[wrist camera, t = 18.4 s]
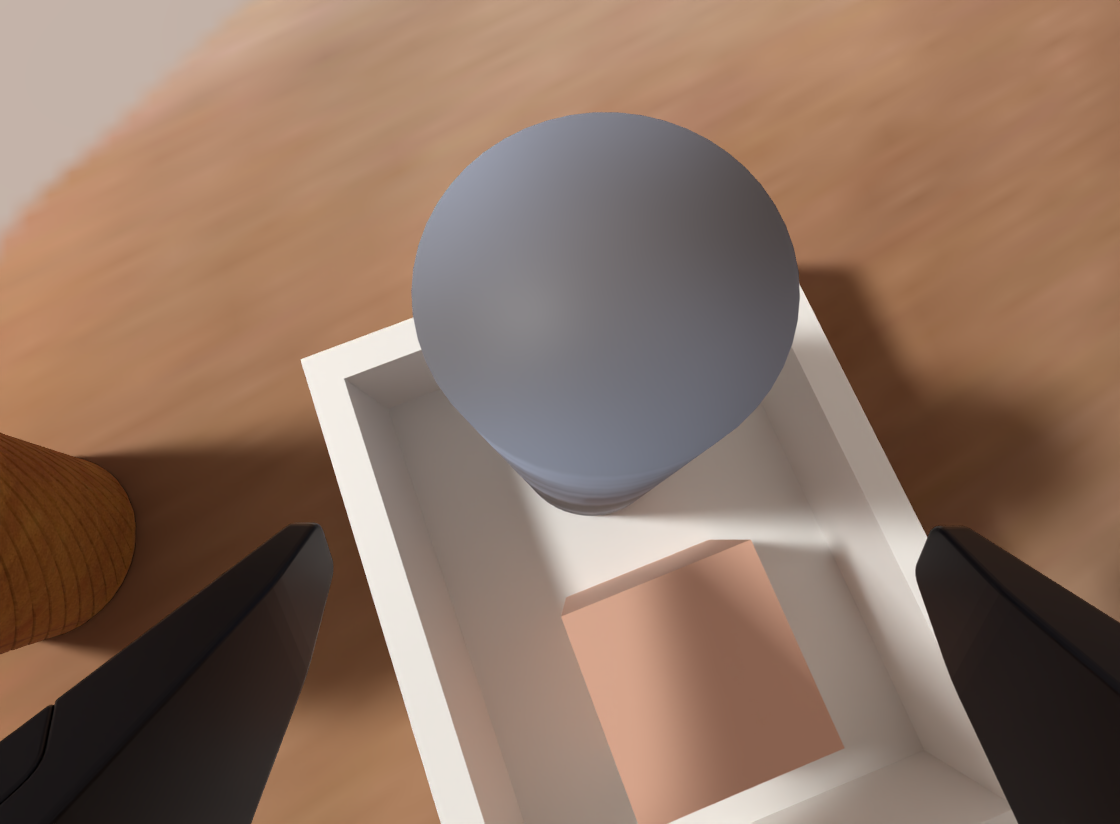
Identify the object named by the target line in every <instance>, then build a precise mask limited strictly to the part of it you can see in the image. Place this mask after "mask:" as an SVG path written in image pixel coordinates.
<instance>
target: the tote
mask: <svg viewBox="0 0 1120 824" xmlns="http://www.w3.org/2000/svg"><path fill="white" fill-rule="evenodd" d="M799 288H800V301H799V313H798V322H797V326H796V330H795V335H794V339H793V343H792V346H791V349H790V351H789V354H788V357H787V359H786V362H785V364H784V367H783V369H782V370H781V372H780V374H779V376H778V378H777V379H776V381H775V383H774V385H773V386H772V388H771V390H770V391H769V392H768V394H767V395H766V396H765V398H764V399H763V400H762V402H761V403H760V404H759V405H758V407H757V408H756V409H755V410H754V411H753V412H752V413H751V414H750V415H749V416H748V417H747V418H746V419H745V420H744V421H743V422H742V423H741V424H740V425H739V426H738V427H737V428H736V429H734V430H733V431H732V432H730V433H729V434H728V435H726V436H725V437H724V438H722V439H721V440H720V441H718V442H717V443H716V444H714V445H713V446H711V447H710V448H709V449H707V450H706V451H704V452H703V453H702V454H700V455H699V456H697V457H696V458H695V459H693V460H692V461H690V462H689V463H688V464H686V465H685V466H684V467H682V468H681V469H679V470H678V471H677V472H675V473H674V474H672V475H671V476H670V477H668V478H667V479H665V480H664V481H663V482H661V483H660V484H658V485H657V486H656V487H654V488H653V489H651V490H650V491H649V492H647V493H646V494H644V495H643V496H642V497H640V498H639V499H637V500H636V501H635V502H633V503H632V504H630V505H628V506H627V507H625V508H623V509H621V510H618V511H616V512H613V513H609V514H605V515H598V516H583V515H576V514H572V513H569V512H565V511H563V510H561V509H558V508H556V507H554V506H553V505H551V504H549V503H548V502H546V501H545V500H544V499H543V498H542V497H540V496H539V495H538V494H537V493H536V492H535V491H534V490H533V489H532V487H531V486H530V485H529V484H528V483H527V482H526V481H525V480H524V479H523V478H522V477H521V476H520V475H519V474H518V473H517V472H516V471H515V470H514V469H513V468H512V467H511V466H510V465H509V464H508V463H507V462H506V461H505V460H504V458H503V457H502V456H501V455H500V454H499V453H498V452H497V451H496V450H495V449H494V448H493V447H492V446H491V445H490V444H489V443H488V442H487V441H486V440H485V439H484V438H483V437H482V436H481V435H480V434H479V433H478V432H477V431H476V429H475V428H474V427H473V426H472V425H471V424H470V423H469V422H468V421H467V420H466V419H465V418H464V417H463V416H462V415H461V414H460V413H459V412H458V410H457V409H456V408H455V407H454V406H453V405H452V404H451V403H450V401H449V400H448V398H447V397H446V396H445V394H444V393H443V391H442V390H441V389H440V387H439V386H438V384H437V383H436V381H435V379H434V377H433V375H432V373H431V371H430V369H429V367H428V365H427V363H426V361H425V358H424V356H423V353H422V350H421V347H420V344H419V341H418V338H417V333H416V328H415V323H414V318H411V319H408V320H406V321H403V322H400V323H397V324H395V325H392V326H389V327H387V328H384V329H381V330H379V331H376V332H373V333H371V334H368V335H365V336H362V337H360V338H357V339H354V340H352V341H349V342H346V343H344V344H341V345H338V346H336V347H333V348H330V349H327V350H325V351H322V352H319V353H317V354H314V355H311V356H309V357H306V358H303V359H301V362H302V366H303V369H304V372H305V376H306V379H307V382H308V386H309V389H310V392H311V395H312V399H313V402H314V405H315V409H316V412H317V415H318V419H319V422H320V425H321V429H322V432H323V435H324V438H325V442H326V445H327V448H328V452H329V455H330V458H331V462H332V465H333V468H334V471H335V475H336V478H337V481H338V485H339V488H340V491H341V495H342V498H343V501H344V505H345V508H346V511H347V514H348V518H349V521H350V524H351V528H352V531H353V534H354V538H355V541H356V544H357V547H358V551H359V554H360V557H361V561H362V564H363V567H364V571H365V574H366V577H367V581H368V584H369V587H370V590H371V594H372V597H373V600H374V604H375V607H376V610H377V614H378V617H379V620H380V624H381V627H382V630H383V633H384V637H385V640H386V643H387V647H388V650H389V653H390V657H391V660H392V663H393V666H394V670H395V673H396V676H397V680H398V683H399V686H400V690H401V693H402V696H403V700H404V703H405V706H406V709H407V713H408V716H409V719H410V723H411V726H412V729H413V733H414V736H415V739H416V742H417V746H418V749H419V752H420V756H421V759H422V762H423V766H424V769H425V772H426V776H427V779H428V782H429V785H430V789H431V792H432V795H433V799H434V802H435V805H436V809H437V812H438V815H439V818H440V822H441V824H638V822H637V820H636V817H635V814H634V812H633V809H632V806H631V803H630V801H629V798H628V795H627V793H626V790H625V787H624V785H623V782H622V779H621V777H620V774H619V771H618V769H617V766H616V763H615V761H614V758H613V755H612V752H611V750H610V747H609V744H608V742H607V739H606V736H605V734H604V731H603V728H602V726H601V723H600V720H599V718H598V715H597V712H596V709H595V707H594V704H593V701H592V699H591V696H590V693H589V691H588V688H587V685H586V683H585V680H584V677H583V675H582V672H581V669H580V667H579V664H578V661H577V658H576V656H575V653H574V650H573V648H572V645H571V642H570V640H569V637H568V634H567V632H566V629H565V626H564V624H563V621H562V618H561V614H562V611H563V607H564V603H565V599H566V597H568V596H571V595H573V594H576V593H578V592H581V591H583V590H586V589H588V588H591V587H593V586H596V585H598V584H600V583H603V582H605V581H608V580H610V579H613V578H615V577H618V576H620V575H623V574H625V573H628V572H630V571H633V570H635V569H638V568H640V567H643V566H645V565H647V564H650V563H652V562H655V561H657V560H660V559H662V558H665V557H667V556H670V555H672V554H675V553H677V552H680V551H682V550H685V549H687V548H690V547H692V546H694V545H697V544H699V543H702V542H704V541H707V540H751V541H752V543H753V545H754V548H755V550H756V552H757V554H758V556H759V559H760V561H761V563H762V565H763V568H764V570H765V572H766V574H767V576H768V579H769V581H770V583H771V585H772V588H773V590H774V592H775V594H776V596H777V599H778V601H779V603H780V605H781V608H782V610H783V612H784V614H785V616H786V619H787V621H788V623H789V625H790V628H791V630H792V632H793V634H794V637H795V639H796V641H797V643H798V645H799V648H800V650H801V652H802V654H803V657H804V659H805V661H806V663H807V665H808V668H809V670H810V672H811V674H812V677H813V679H814V681H815V683H816V685H817V688H818V690H819V692H820V694H821V697H822V699H823V701H824V703H825V705H826V708H827V710H828V712H829V714H830V717H831V719H832V721H833V723H834V725H835V728H836V730H837V732H838V734H839V737H840V739H841V741H842V743H843V745H844V749H842V750H839V751H837V752H835V753H832V754H830V755H827V756H825V757H823V758H820V759H818V760H816V761H813V762H811V763H809V764H806V765H804V766H802V767H799V768H797V769H795V770H792V771H790V772H787V773H785V774H783V775H780V776H778V777H776V778H773V779H771V780H769V781H766V782H764V783H762V784H759V785H757V786H755V787H752V788H750V789H747V790H745V791H743V792H740V793H738V794H736V795H733V796H731V797H729V798H726V799H724V800H722V801H719V802H717V803H715V804H712V805H710V806H707V807H705V808H703V809H700V810H698V811H696V812H693V813H691V814H689V815H686V816H684V817H682V818H679V819H677V820H675V821H672V822H670V823H667V824H1018V823H1017V820H1016V818H1015V816H1014V814H1013V812H1012V810H1011V808H1010V806H1009V803H1008V801H1007V799H1006V797H1005V795H1004V793H1003V791H1002V788H1001V786H1000V784H999V782H998V780H997V778H996V776H995V774H994V771H993V769H992V767H991V765H990V763H989V761H988V759H987V756H986V754H985V752H984V750H983V748H982V746H981V744H980V742H979V739H978V737H977V735H976V733H975V731H974V729H973V727H972V724H971V722H970V720H969V718H968V716H967V714H966V712H965V710H964V707H963V705H962V703H961V701H960V699H959V697H958V694H957V692H956V690H955V688H954V685H953V683H952V681H951V678H950V676H949V673H948V670H947V668H946V665H945V663H944V660H943V657H942V654H941V651H940V648H939V645H938V642H937V639H936V637H935V634H934V631H933V628H932V625H931V622H930V619H929V616H928V613H927V610H926V608H925V605H924V602H923V599H922V596H921V593H920V590H919V587H918V584H917V581H916V576H915V568H916V564H917V561H918V559H919V556H920V554H921V552H922V549H923V547H924V545H925V542H926V540H927V536H926V534H925V532H924V530H923V528H922V526H921V524H920V522H919V520H918V518H917V516H916V514H915V512H914V510H913V508H912V506H911V504H910V502H909V500H908V498H907V496H906V494H905V492H904V490H903V488H902V486H901V484H900V482H899V480H898V478H897V476H896V474H895V472H894V470H893V468H892V466H891V464H890V463H889V461H888V459H887V457H886V455H885V453H884V451H883V449H882V447H881V445H880V443H879V441H878V439H877V437H876V435H875V433H874V431H873V429H872V427H871V425H870V423H869V421H868V419H867V417H866V415H865V413H864V411H863V409H862V407H861V405H860V403H859V401H858V399H857V397H856V395H855V393H854V391H853V389H852V387H851V385H850V383H849V381H848V379H847V377H846V375H845V373H844V371H843V369H842V367H841V365H840V364H839V362H838V360H837V358H836V356H835V354H834V352H833V350H832V348H831V346H830V344H829V342H828V340H827V338H826V336H825V334H824V332H823V330H822V328H821V326H820V324H819V322H818V320H817V318H816V316H815V314H814V312H813V310H812V308H811V306H810V304H809V302H808V300H807V298H806V296H805V294H804V292H803V290H802V288H801V286H800V284H799Z"/></svg>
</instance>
